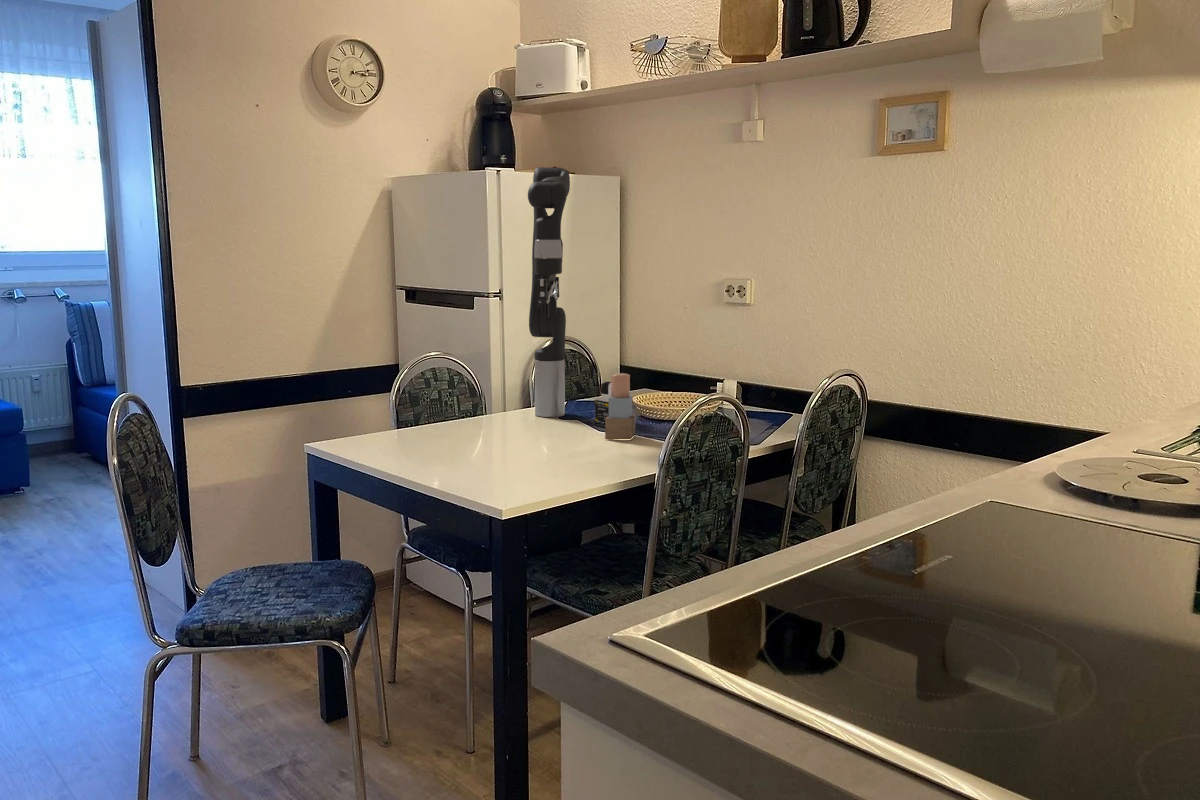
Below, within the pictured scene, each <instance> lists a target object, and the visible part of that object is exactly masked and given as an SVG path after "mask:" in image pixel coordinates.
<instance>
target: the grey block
mask: <svg viewBox="0 0 1200 800" xmlns="http://www.w3.org/2000/svg"><path fill="white" fill-rule="evenodd" d="M632 415H633V395H631V394H630V397H628V398H613V397H611V396H610V397H609V418H619V419H629V418H630V417H631V416H632Z"/></svg>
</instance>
